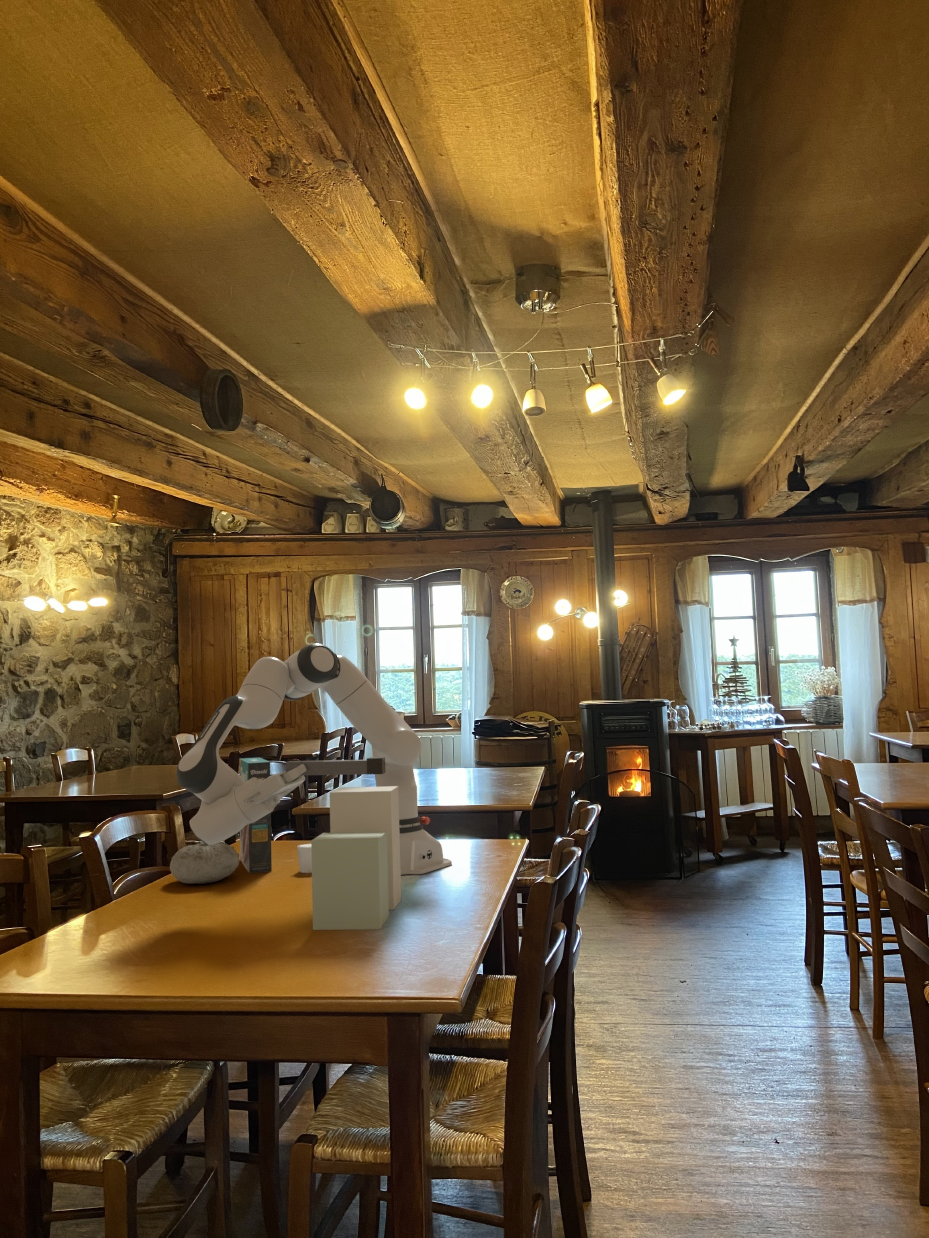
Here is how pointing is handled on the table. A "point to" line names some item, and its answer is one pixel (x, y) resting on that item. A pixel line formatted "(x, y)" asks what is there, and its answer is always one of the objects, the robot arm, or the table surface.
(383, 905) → the low post
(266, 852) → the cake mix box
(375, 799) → the tall post
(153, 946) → the table surface
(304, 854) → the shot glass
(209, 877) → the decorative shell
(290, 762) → the metal bar
